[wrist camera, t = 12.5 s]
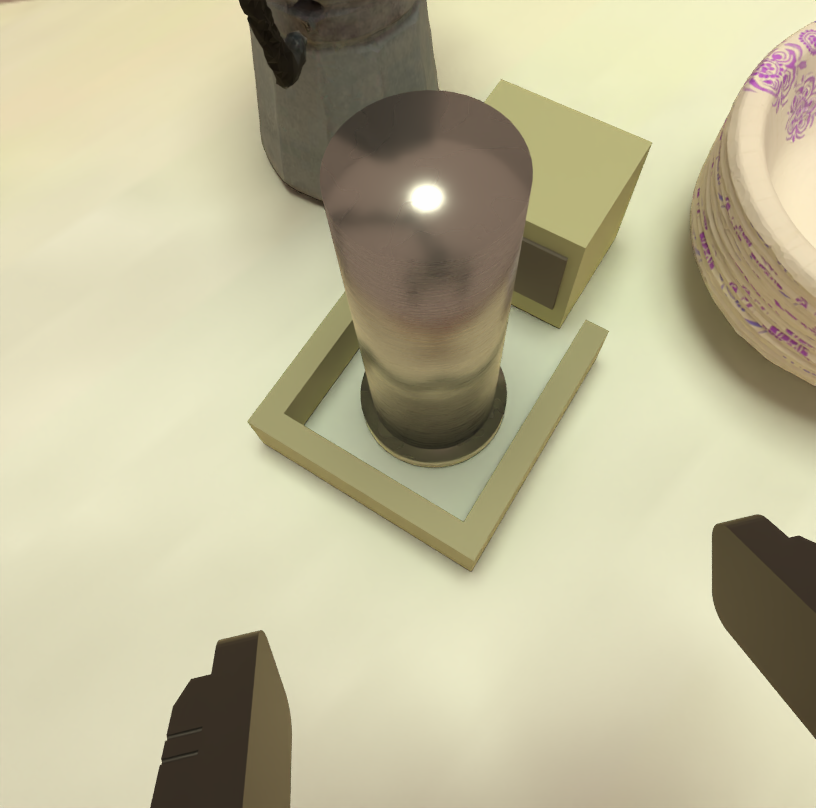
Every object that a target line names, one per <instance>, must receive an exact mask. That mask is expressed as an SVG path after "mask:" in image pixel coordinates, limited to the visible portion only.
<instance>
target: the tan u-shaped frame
mask: <svg viewBox="0 0 816 808" xmlns="http://www.w3.org/2000/svg"><path fill="white" fill-rule="evenodd" d="M484 103H486V104H488V105H490V106H491V107H493V108H494V109H496V110H497V111H499V112H501V113H502V114H503V115H504V116H505V117H506V118H508V119H509V120H510V121H511V122H512V123H513V125H514V126H515V127H516V128H517V129H518V131H519V132H520V134H521V135H522V137H523V138H524V140H525V142H526V144H527V146H528V149H529V152H530V155H531V159H532V166H533V182H532V188H531V193H530V199H529V205H528V210H527V216H526V222H525V227H524V233H523V239H522V244H521V250H520V256H519V261H518V267H517V273H516V278H515V284H514V290H513V295H512V301H511V304H512V305H514V306H516V307H518V308H520V309H522V310H524V311H526V312H528V313H530V314H532V315H533V316H535V317H537V318H539V319H541V320H543V321H545V322H547V323H549V324H551V325H553V326H555V327H557V328H559V329H560V327H561V325H562V324H563V322H564V320H565V319H566V317H567V316H568V314H569V312H570V311H571V309H572V307H573V306H574V304H575V303H576V301H577V299H578V298H579V296H580V295H581V293H582V291H583V290H584V288H585V286H586V285H587V283H588V282H589V280H590V278H591V277H592V275H593V273H594V272H595V270H596V269H597V267H598V265H599V264H600V262H601V260H602V259H603V257H604V256H605V254H606V252H607V251H608V249H609V247H610V246H611V244H612V243H613V241H614V239H615V238H616V235H617V233H618V230H619V228H620V225H621V222H622V220H623V217H624V215H625V212H626V209H627V207H628V204H629V201H630V199H631V196H632V194H633V191H634V188H635V186H636V183H637V181H638V178H639V175H640V173H641V170H642V168H643V165H644V162H645V160H646V157H647V155H648V152H649V149H650V147H651V144H652V142H650V141H647V140H645V139H643V138H640V137H638V136H635V135H633V134H631V133H628V132H626V131H623V130H621V129H619V128H616V127H614V126H612V125H609V124H607V123H604V122H602V121H600V120H597V119H595V118H592V117H590V116H588V115H585V114H583V113H581V112H578V111H576V110H573V109H571V108H569V107H566V106H564V105H562V104H559V103H557V102H554V101H552V100H550V99H547V98H545V97H542V96H540V95H538V94H535V93H533V92H531V91H528V90H526V89H523V88H521V87H519V86H516V85H514V84H511V83H509V82H507V81H504V80H502V79H501V81H500V82H499V83H498V85H497V86H496V87H495V89H494V90H493V91H492V93H491V94H490V95H489V97H488V98H487V99H486V101H485V102H484ZM608 332H609V331H608V330H606V329H604V328H602V327H600V326H598V325H596V324H594V323H592V322H589V321H587V320H585V322H584V324H583V325H582V327H581V329H580V330H579V332H578V334H577V335H576V337H575V339H574V340H573V342H572V344H571V345H570V347H569V349H568V350H567V352H566V354H565V355H564V357H563V358H562V360H561V362H560V363H559V365H558V367H557V368H556V370H555V372H554V373H553V375H552V377H551V378H550V380H549V382H548V383H547V385H546V387H545V388H544V390H543V392H542V393H541V395H540V397H539V398H538V400H537V402H536V403H535V405H534V406H533V408H532V410H531V411H530V413H529V415H528V416H527V418H526V420H525V421H524V423H523V425H522V426H521V428H520V430H519V431H518V433H517V435H516V436H515V438H514V440H513V441H512V443H511V445H510V446H509V448H508V450H507V451H506V453H505V454H504V456H503V458H502V459H501V461H500V463H499V464H498V466H497V468H496V469H495V471H494V473H493V474H492V476H491V478H490V479H489V481H488V483H487V484H486V486H485V488H484V489H483V491H482V493H481V494H480V496H479V497H478V499H477V501H476V502H475V504H474V506H473V507H472V509H471V511H470V512H469V514H468V516H467V517H466V519H465V521H464V522H463V521H461V520H460V519H458V518H456V517H455V516H453V515H451V514H450V513H448V512H446V511H445V510H443V509H441V508H440V507H438V506H436V505H435V504H433V503H432V502H430V501H428V500H427V499H425V498H423V497H422V496H420V495H418V494H417V493H415V492H413V491H412V490H410V489H408V488H407V487H405V486H403V485H402V484H400V483H398V482H397V481H395V480H393V479H392V478H390V477H388V476H387V475H385V474H383V473H382V472H380V471H378V470H377V469H375V468H373V467H372V466H370V465H368V464H367V463H365V462H363V461H362V460H360V459H358V458H357V457H355V456H353V455H352V454H350V453H348V452H347V451H345V450H344V449H342V448H340V447H339V446H337V445H335V444H334V443H332V442H330V441H329V440H327V439H325V438H324V437H322V436H320V435H319V434H317V433H315V432H314V431H312V430H310V429H309V428H307V427H305V426H304V424H305V423H306V421H307V420H308V418H309V417H310V416H311V414H312V413H313V411H314V410H315V409H316V407H317V406H318V405H319V403H320V402H321V400H322V399H323V398H324V396H325V395H326V393H327V392H328V391H329V389H330V388H331V386H332V385H333V384H334V382H335V381H336V380H337V378H338V377H339V375H340V374H341V373H342V371H343V370H344V368H345V367H346V366H347V364H348V363H349V361H350V360H351V359H352V357H353V356H354V354H355V353H356V352H357V350H358V349H359V348H360V347H359V343H358V339H357V335H356V331H355V327H354V323H353V319H352V315H351V311H350V307H349V303H348V299H347V295H346V291H345V292H344V294H343V295H342V296H341V298H340V299H339V300H338V302H337V303H336V304H335V306H334V307H333V308H332V310H331V311H330V312H329V314H328V315H327V316H326V318H325V319H324V320H323V322H322V323H321V324H320V326H319V327H318V328H317V330H316V331H315V332H314V334H313V335H312V336H311V338H310V339H309V340H308V342H307V343H306V344H305V346H304V347H303V348H302V350H301V351H300V352H299V354H298V355H297V356H296V358H295V359H294V360H293V362H292V363H291V364H290V365H289V367H288V368H287V369H286V371H285V372H284V373H283V375H282V376H281V377H280V379H279V380H278V381H277V383H276V384H275V385H274V387H273V388H272V389H271V391H270V392H269V393H268V395H267V396H266V397H265V399H264V400H263V401H262V403H261V404H260V405H259V407H258V408H257V409H256V411H255V412H254V413H253V415H252V416H251V417H250V419H249V420H248V421H247V422H248V423H249V425H250V426H251V427H252V428H253V430H254V431H255V432H256V434H257V435H258V436H259V438H260V439H261V440H262V442H263V443H264V444H266V445H268V446H269V447H271V448H272V449H274V450H276V451H277V452H279V453H281V454H282V455H284V456H285V457H287V458H289V459H290V460H292V461H293V462H295V463H297V464H298V465H300V466H302V467H303V468H305V469H306V470H308V471H310V472H311V473H313V474H314V475H316V476H318V477H319V478H321V479H322V480H324V481H326V482H327V483H329V484H331V485H332V486H334V487H335V488H337V489H339V490H340V491H342V492H343V493H345V494H347V495H348V496H350V497H351V498H353V499H355V500H356V501H358V502H360V503H361V504H363V505H364V506H366V507H368V508H369V509H371V510H372V511H374V512H376V513H377V514H379V515H381V516H382V517H384V518H385V519H387V520H389V521H390V522H392V523H393V524H395V525H397V526H398V527H400V528H401V529H403V530H405V531H406V532H408V533H410V534H411V535H413V536H414V537H416V538H418V539H419V540H421V541H422V542H424V543H426V544H427V545H429V546H430V547H432V548H434V549H435V550H437V551H439V552H440V553H442V554H443V555H445V556H447V557H448V558H450V559H451V560H453V561H455V562H456V563H458V564H460V565H461V566H463V567H464V568H466V569H468V570H469V571H472V570H473V568H474V566H475V565H476V563H477V561H478V560H479V558H480V556H481V554H482V553H483V551H484V549H485V548H486V546H487V544H488V542H489V541H490V539H491V537H492V536H493V534H494V532H495V530H496V529H497V527H498V525H499V524H500V522H501V520H502V519H503V517H504V515H505V513H506V512H507V510H508V508H509V507H510V505H511V503H512V501H513V500H514V498H515V496H516V495H517V493H518V491H519V490H520V488H521V486H522V484H523V483H524V481H525V479H526V478H527V476H528V474H529V472H530V471H531V469H532V467H533V466H534V464H535V462H536V461H537V459H538V457H539V455H540V454H541V452H542V450H543V449H544V447H545V445H546V443H547V442H548V440H549V438H550V437H551V435H552V433H553V431H554V430H555V428H556V426H557V425H558V423H559V421H560V420H561V418H562V416H563V414H564V413H565V411H566V409H567V408H568V406H569V404H570V402H571V401H572V399H573V397H574V396H575V394H576V392H577V391H578V389H579V387H580V385H581V384H582V382H583V380H584V379H585V377H586V375H587V373H588V372H589V370H590V368H591V367H592V365H593V363H594V361H595V360H596V358H597V356H598V354H599V351H600V349H601V347H602V345H603V343H604V341H605V339H606V336H607V334H608Z"/></svg>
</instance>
